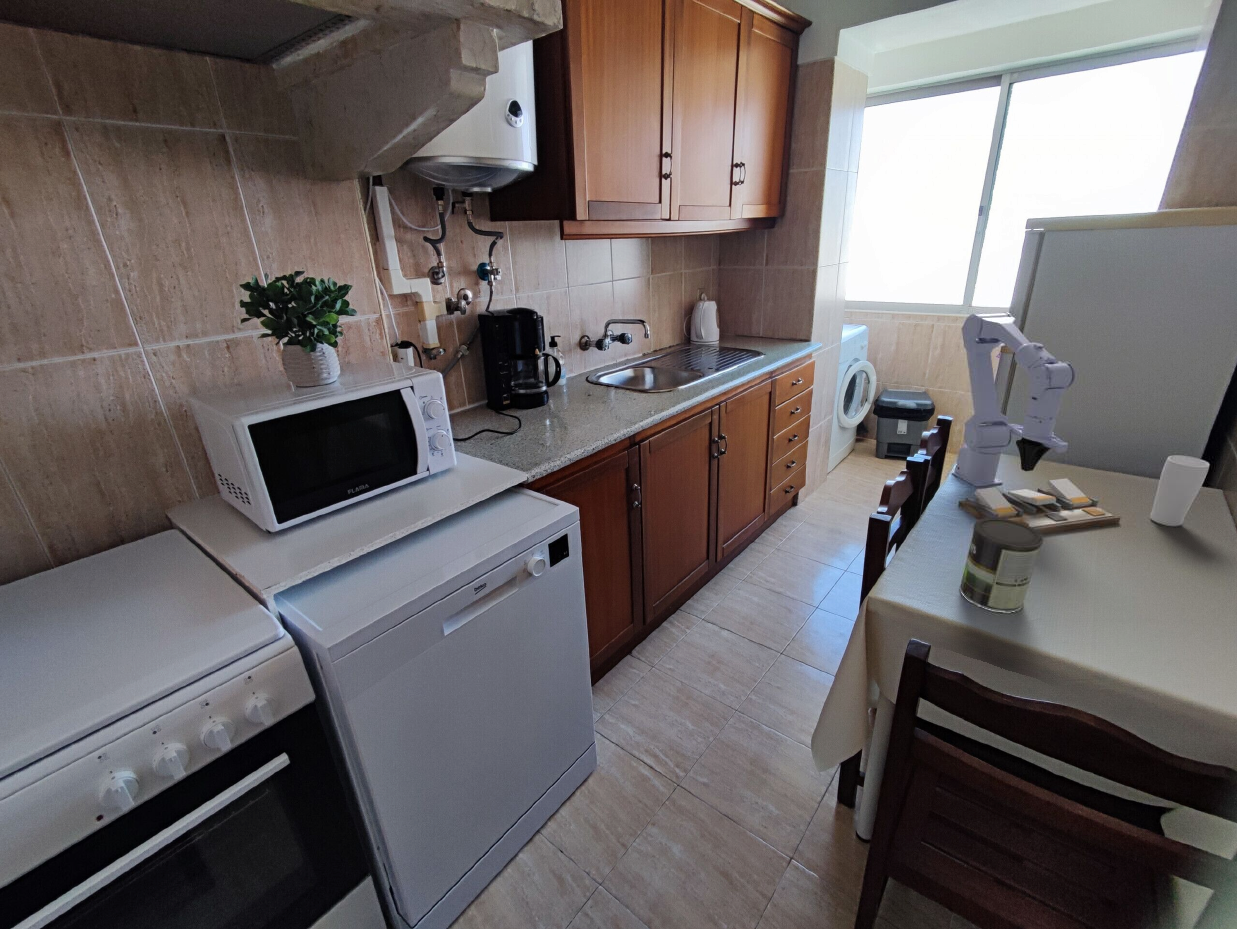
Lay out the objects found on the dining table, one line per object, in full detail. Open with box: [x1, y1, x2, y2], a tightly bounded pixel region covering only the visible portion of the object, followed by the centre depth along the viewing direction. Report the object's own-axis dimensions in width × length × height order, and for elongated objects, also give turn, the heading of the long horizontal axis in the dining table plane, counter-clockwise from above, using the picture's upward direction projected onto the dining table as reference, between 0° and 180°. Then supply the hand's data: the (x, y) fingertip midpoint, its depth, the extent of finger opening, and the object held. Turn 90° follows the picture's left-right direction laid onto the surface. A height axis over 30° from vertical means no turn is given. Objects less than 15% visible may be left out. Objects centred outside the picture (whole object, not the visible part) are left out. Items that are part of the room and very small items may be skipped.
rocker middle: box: [1007, 488, 1056, 505], centre depth 133 cm, size 8×5×1 cm, turn 10°
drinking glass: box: [1149, 454, 1211, 527], centre depth 124 cm, size 7×7×15 cm
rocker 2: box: [1046, 477, 1092, 508], centre depth 134 cm, size 8×5×1 cm, turn 11°
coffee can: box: [959, 518, 1044, 612], centre depth 102 cm, size 10×10×14 cm
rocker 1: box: [973, 487, 1017, 518], centre depth 131 cm, size 8×5×1 cm, turn 11°
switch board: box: [957, 487, 1121, 535], centre depth 132 cm, size 16×28×3 cm, turn 100°
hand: (1026, 469), depth 133 cm, fingers closed
